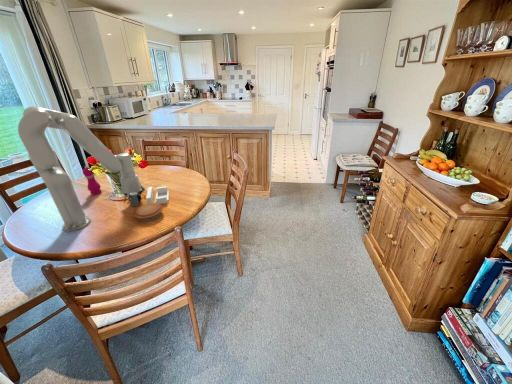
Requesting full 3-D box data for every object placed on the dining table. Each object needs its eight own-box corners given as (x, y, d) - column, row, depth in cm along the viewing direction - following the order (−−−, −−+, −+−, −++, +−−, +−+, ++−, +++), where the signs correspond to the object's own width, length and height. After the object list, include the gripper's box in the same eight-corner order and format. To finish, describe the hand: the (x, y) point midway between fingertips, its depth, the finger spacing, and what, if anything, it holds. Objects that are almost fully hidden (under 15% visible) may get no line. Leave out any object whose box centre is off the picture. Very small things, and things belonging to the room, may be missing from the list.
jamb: (168, 202, 147) (167, 195, 144) (148, 206, 144) (146, 198, 141) (168, 191, 161) (167, 184, 159) (150, 193, 158) (148, 187, 156)
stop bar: (138, 205, 144) (136, 196, 142) (130, 206, 143) (128, 197, 141) (140, 197, 154) (138, 189, 151) (133, 198, 153) (131, 190, 150)
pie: (169, 213, 136) (168, 205, 134) (145, 226, 125) (143, 218, 123) (153, 206, 144) (151, 198, 142) (129, 218, 132) (126, 210, 130)
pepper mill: (104, 190, 164) (95, 163, 154) (97, 195, 157) (87, 167, 148) (95, 190, 164) (85, 163, 155) (87, 195, 158) (76, 167, 149)
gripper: (111, 178, 135) (120, 206, 143) (142, 174, 139) (149, 201, 147) (113, 173, 141) (122, 200, 149) (144, 170, 145) (150, 196, 154)
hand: (135, 200), depth 148 cm, fingers closed on stop bar, 4 cm apart
